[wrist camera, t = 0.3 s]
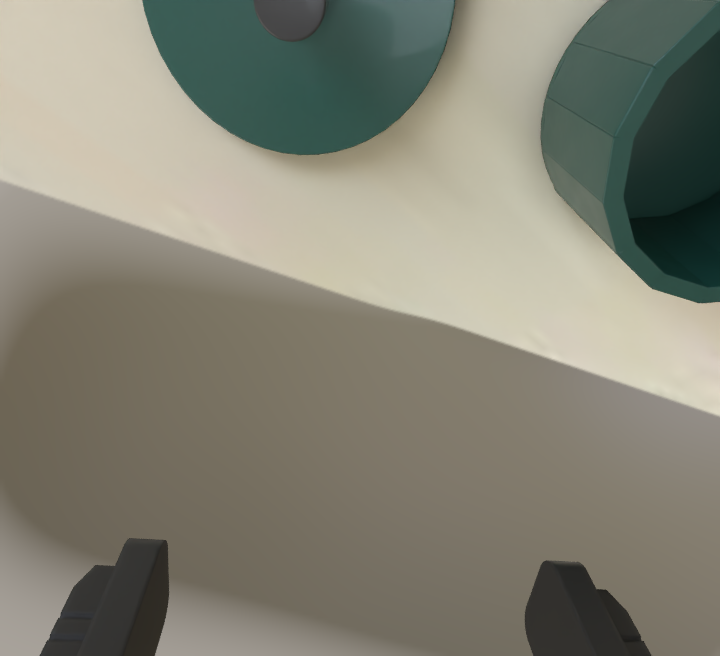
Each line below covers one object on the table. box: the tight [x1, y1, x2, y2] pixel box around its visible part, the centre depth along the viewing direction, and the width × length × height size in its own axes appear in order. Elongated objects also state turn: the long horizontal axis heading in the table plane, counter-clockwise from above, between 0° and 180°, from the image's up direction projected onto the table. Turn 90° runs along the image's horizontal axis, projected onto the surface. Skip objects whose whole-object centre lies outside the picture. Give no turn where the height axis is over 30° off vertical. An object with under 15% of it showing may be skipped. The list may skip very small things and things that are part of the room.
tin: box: [541, 0, 720, 303], centre depth 24 cm, size 13×13×8 cm
